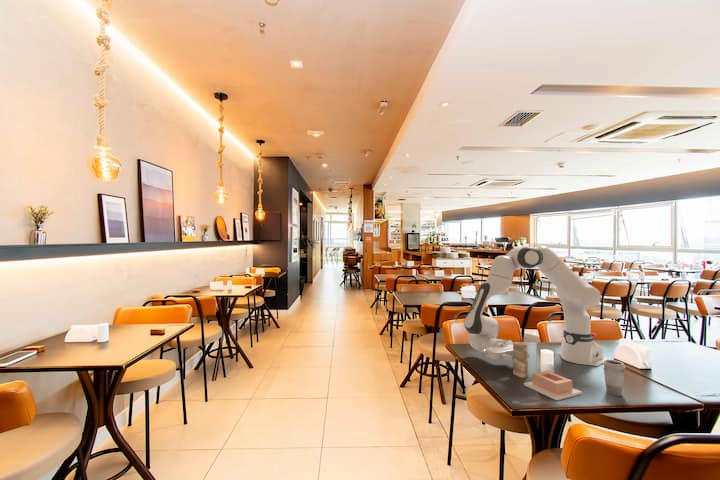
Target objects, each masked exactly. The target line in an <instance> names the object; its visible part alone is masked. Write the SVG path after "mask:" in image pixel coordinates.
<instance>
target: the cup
mask: <svg viewBox="0 0 720 480" xmlns="http://www.w3.org/2000/svg"><path fill="white" fill-rule="evenodd" d="M601 365H603V374H604V383H605V388H606V389H605V390H606V393H608V394H609V395H611V396H612V395H613V396H616V397H619V396H620V397H621V396H622V394H623V386H624V380H625V378H624V377H625V371H624V370H625V369H626V365H624V362H622V361H618V360H615V359H609V360H604V362H603V363H602V364H601Z"/></svg>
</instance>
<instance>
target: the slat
mask: <svg viewBox="0 0 720 480" xmlns="http://www.w3.org/2000/svg"><path fill="white" fill-rule="evenodd" d="M528 346H529V345H528V344H526V343H523V342H520V341H515V342H513V357H514V360H513V361H512V365H513V366H512V374H513V375H514V376H516V377H519V378H521V379H526V378H528V377H529V376H528V375H529V373H528V372H529V371H528V366H529V364H528V363H529V362H528V360H529V358H528V354H529V353H528V350H529V348H528Z"/></svg>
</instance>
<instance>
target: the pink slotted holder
mask: <svg viewBox="0 0 720 480" xmlns="http://www.w3.org/2000/svg"><path fill="white" fill-rule="evenodd" d="M523 384H524V386H525V387H527V388H529V389H531V390H533V391H536V392H537V393H540V394H542V395H544V396H545V397H548V398H551V399H552V400H555V401H561V400H564V399H567V398H573V397H576V396H581V395H582V394H583V393H582V391H581V390H579V389H577V388H573V379H570V378H567V377H564V376H561V375H560V374H557V373H555V372H552V371H549V370H545V371H539V372H534V373H532V381H528V382H524V383H523Z"/></svg>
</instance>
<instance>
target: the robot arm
mask: <svg viewBox="0 0 720 480" xmlns="http://www.w3.org/2000/svg"><path fill="white" fill-rule="evenodd" d="M533 268H537V269H538V270H539V272H540V273H542V274H543V276H544V277H545V278H546V279H547V280H548V281H549V282H550V283H551V284H552V285H554V286H556V289H555V294H556V296H557V297H558V299H559V301H560V304H561V307H562V311H563V320H564V325H563V327H564V329H563V332H562V333H563V335H562V336H563V339H561V348H560V351H559V353H558V354H559V356H560V358H561V359H562V360H564V361H566V362H570V363H573V364H579V365H585V366H587V365H588V366H594V367H598V366H600V365H603V364H602V363H603V362H604V360H610V359H609V357H606V356H604V355H603V353H604V352H603V348H602V347H601V346H600V345H599V344H598V343H596V342H595V341H594V338H596V337H597V333H594V332H592V331H591V324H592V322H591V321H592V320H591V316H590V315H589V313H588V312H587V309H586V307H587V308H588V307H595V306H597V305H598V304H599V303H600V302H601V299H602V294H601V292H600V290H599V289H598V288H597V287H595V286H593V285H591V284H590V283H588V281H586V280H585V279H584V278H583V277H581V276H580V275H579V274H577V273H575V272H574V271H573V270H572V269H571V268H570V267H569V266H568V265H567V264H566V263H565V262H564V261H563V259H562V258H561V257H559V256H558V255H557V254H556V253H555V251H553V250H552V249H550V248H549V247H548V246H545V245H539V246H536V247H535V248H534V247H531V246H518V247H513V248H510V249H509V250H507V251H506V253H505V254H504V255H498V256H496V257H495V258H494V260H493V261H492V264H491V266H490V269H489V273H488V275H487V278H486V280H485V282H484V283H482V284H481V285H480V286H479V288H478V290H477V292H476V294H475V297H474V299H473V302H472V304H471V306H470V309H469V310H468V312H467V314H466V316H465V317H464V319H463V325H464V328H465V330H466V332H468V333H469V336H468V343H469V345H470V347H472V348H473V349H475V350H476V351H478V352H480V353H483V354H484V355H485V357H487V358H488V359H491V360H492V361H502V360H505V361H506V360H507V361H511V362H513V360H514V357H513V343H514V342H513V341H512V340H510V339H500V338H498V337H499V334H500V333H499V332H500V324H499V321H498V320H497V319H496V318H495V317H491V316H486V315H483V312H484V310H485V307H486V305H487V302H488V301H489V299H491V298H492V297H495V296H499V295H503V294H504V293H507V292H508V290H509V289H510V287H511V285H512V280H513V278H514V277H513V276H514V273H515V271H516V270H517V269H522V270H524V269H533ZM529 358H530V354H529V353H528V359H529Z"/></svg>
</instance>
